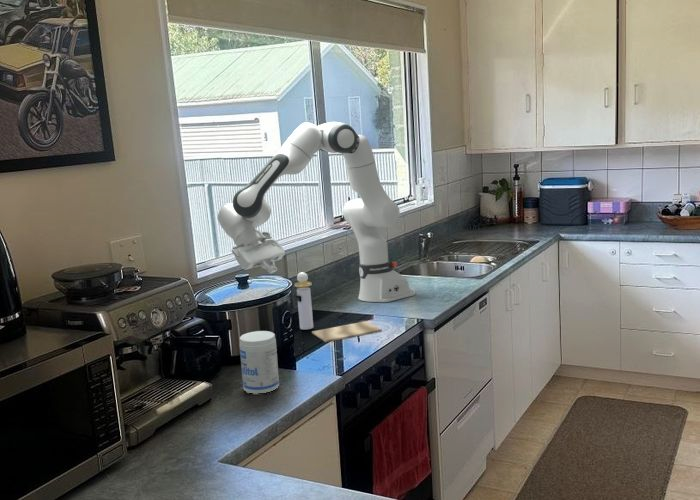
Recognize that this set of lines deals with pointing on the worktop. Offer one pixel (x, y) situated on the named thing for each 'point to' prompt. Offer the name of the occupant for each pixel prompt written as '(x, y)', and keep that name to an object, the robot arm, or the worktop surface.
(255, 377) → the supplement tub
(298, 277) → the perfume bottle
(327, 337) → the mat
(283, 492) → the worktop surface
